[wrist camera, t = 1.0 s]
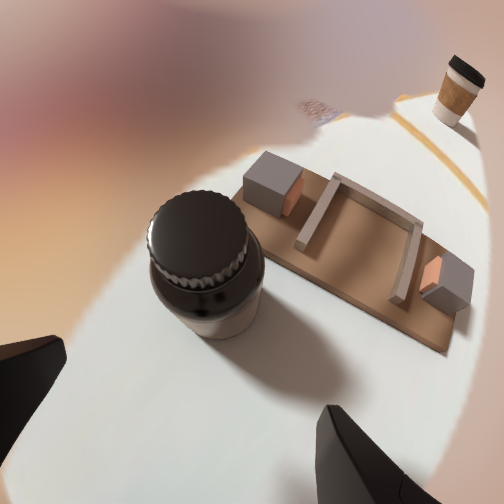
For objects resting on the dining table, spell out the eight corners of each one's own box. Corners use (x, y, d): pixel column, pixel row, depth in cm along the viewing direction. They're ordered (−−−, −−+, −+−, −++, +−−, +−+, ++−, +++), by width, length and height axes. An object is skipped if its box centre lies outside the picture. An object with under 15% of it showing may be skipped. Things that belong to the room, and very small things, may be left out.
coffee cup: (422, 101, 43) (445, 48, 29) (450, 113, 42) (475, 65, 29) (435, 123, 39) (465, 65, 25) (464, 136, 39) (494, 85, 25)
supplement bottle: (178, 268, 24) (135, 180, 13) (253, 262, 25) (261, 167, 14) (180, 344, 21) (121, 305, 10) (262, 337, 22) (284, 293, 11)
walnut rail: (214, 228, 26) (209, 198, 22) (269, 160, 30) (273, 129, 26) (439, 352, 21) (469, 343, 17) (457, 266, 25) (481, 247, 21)
